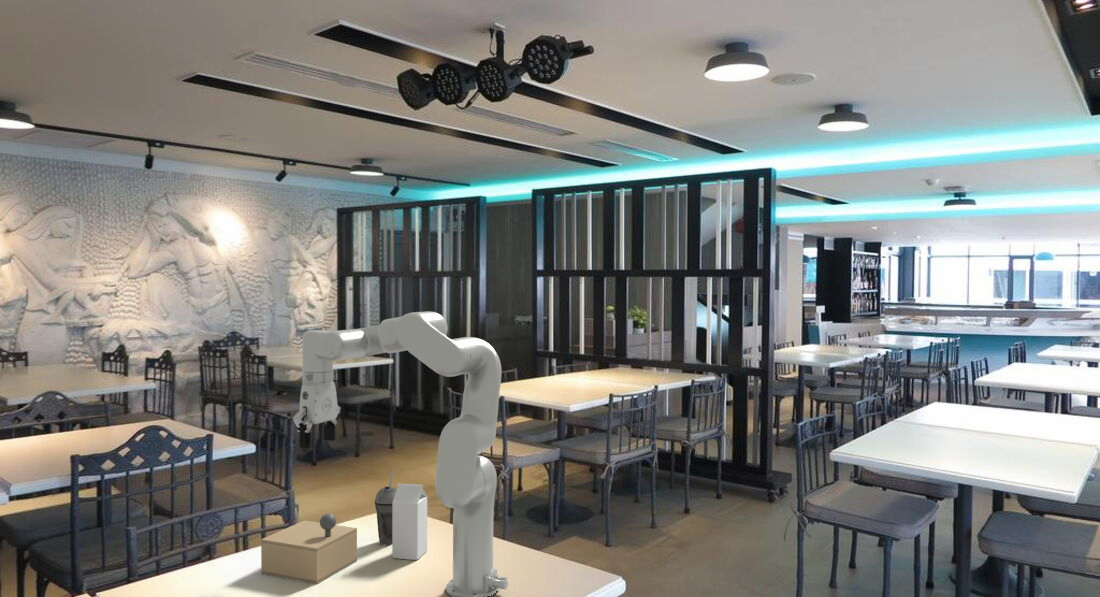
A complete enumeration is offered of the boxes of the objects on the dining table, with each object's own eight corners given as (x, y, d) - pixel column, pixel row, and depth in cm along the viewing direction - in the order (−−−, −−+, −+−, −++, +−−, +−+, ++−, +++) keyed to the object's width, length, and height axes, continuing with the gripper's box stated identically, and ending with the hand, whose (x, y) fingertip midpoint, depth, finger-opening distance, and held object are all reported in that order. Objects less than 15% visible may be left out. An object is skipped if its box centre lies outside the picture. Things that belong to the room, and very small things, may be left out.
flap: (356, 530, 192) (357, 506, 192) (317, 550, 177) (317, 524, 177) (304, 522, 198) (304, 499, 198) (261, 541, 183) (261, 516, 183)
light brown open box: (357, 561, 192) (356, 530, 192) (317, 584, 177) (317, 551, 177) (304, 552, 198) (304, 523, 198) (261, 574, 183) (261, 542, 183)
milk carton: (417, 560, 193) (417, 488, 192) (392, 558, 194) (392, 487, 194) (427, 551, 200) (427, 481, 199) (402, 549, 201) (402, 480, 201)
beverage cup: (373, 539, 209) (373, 469, 208) (399, 536, 211) (399, 467, 210) (375, 548, 202) (375, 475, 201) (402, 545, 204) (402, 473, 204)
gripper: (307, 382, 180) (307, 452, 180) (350, 374, 196) (350, 438, 197) (282, 381, 183) (282, 449, 183) (327, 373, 199) (327, 436, 199)
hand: (317, 443), depth 190 cm, fingers open, 9 cm apart
